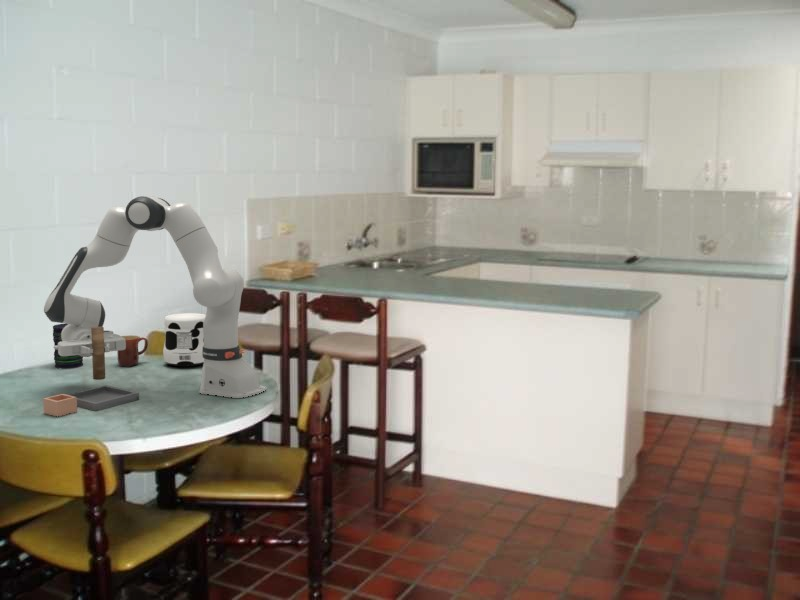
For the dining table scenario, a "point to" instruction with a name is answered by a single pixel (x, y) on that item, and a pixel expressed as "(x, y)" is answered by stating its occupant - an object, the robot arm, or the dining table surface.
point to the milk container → (184, 339)
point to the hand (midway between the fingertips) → (99, 350)
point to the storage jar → (64, 361)
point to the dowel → (98, 353)
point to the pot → (60, 405)
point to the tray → (104, 397)
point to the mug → (131, 351)
